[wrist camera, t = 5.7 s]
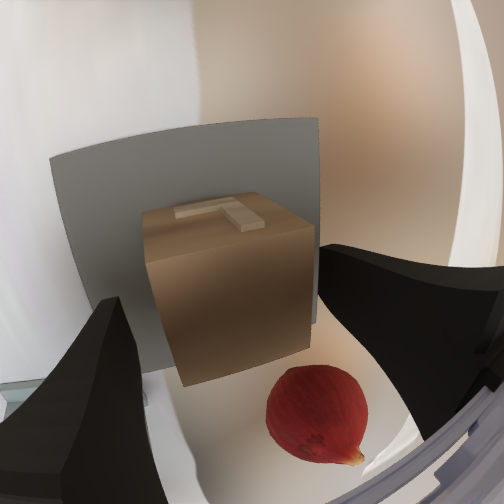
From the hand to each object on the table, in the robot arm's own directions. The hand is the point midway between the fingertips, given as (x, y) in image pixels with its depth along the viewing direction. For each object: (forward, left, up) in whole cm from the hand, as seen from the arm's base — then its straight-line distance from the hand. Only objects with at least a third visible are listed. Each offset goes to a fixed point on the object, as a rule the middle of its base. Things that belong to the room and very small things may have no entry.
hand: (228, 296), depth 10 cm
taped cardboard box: (0, 0, -3) cm, 3 cm away
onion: (-10, -4, -4) cm, 11 cm away
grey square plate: (0, 0, -3) cm, 3 cm away
